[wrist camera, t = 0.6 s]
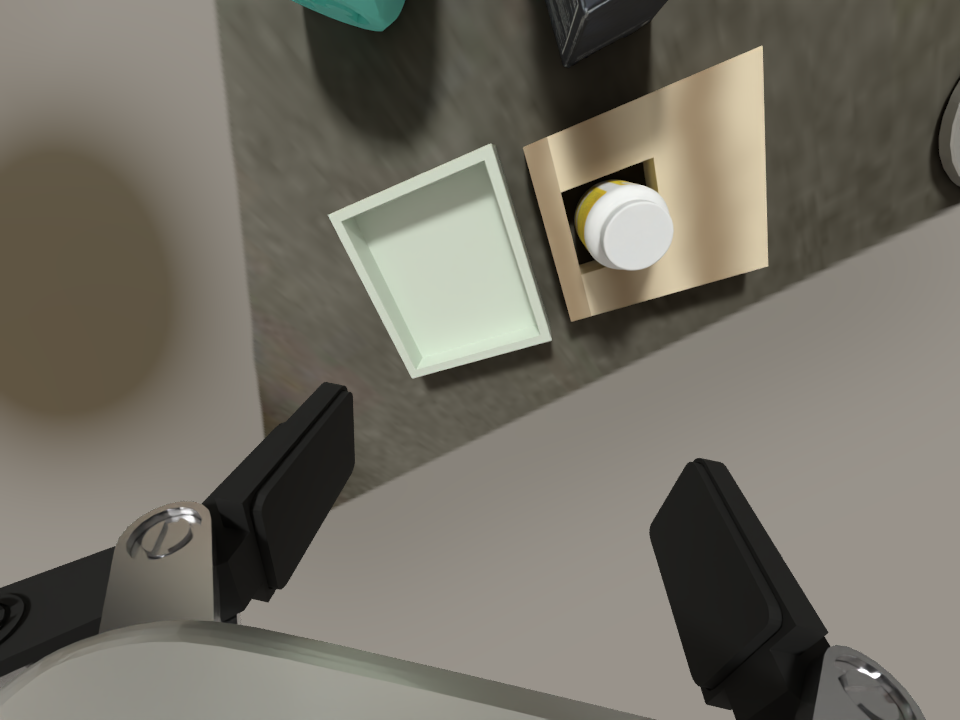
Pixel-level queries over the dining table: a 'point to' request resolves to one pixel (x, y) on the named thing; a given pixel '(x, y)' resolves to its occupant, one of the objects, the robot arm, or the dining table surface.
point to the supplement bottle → (624, 224)
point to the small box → (596, 23)
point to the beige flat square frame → (667, 183)
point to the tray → (447, 265)
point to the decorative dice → (358, 11)
